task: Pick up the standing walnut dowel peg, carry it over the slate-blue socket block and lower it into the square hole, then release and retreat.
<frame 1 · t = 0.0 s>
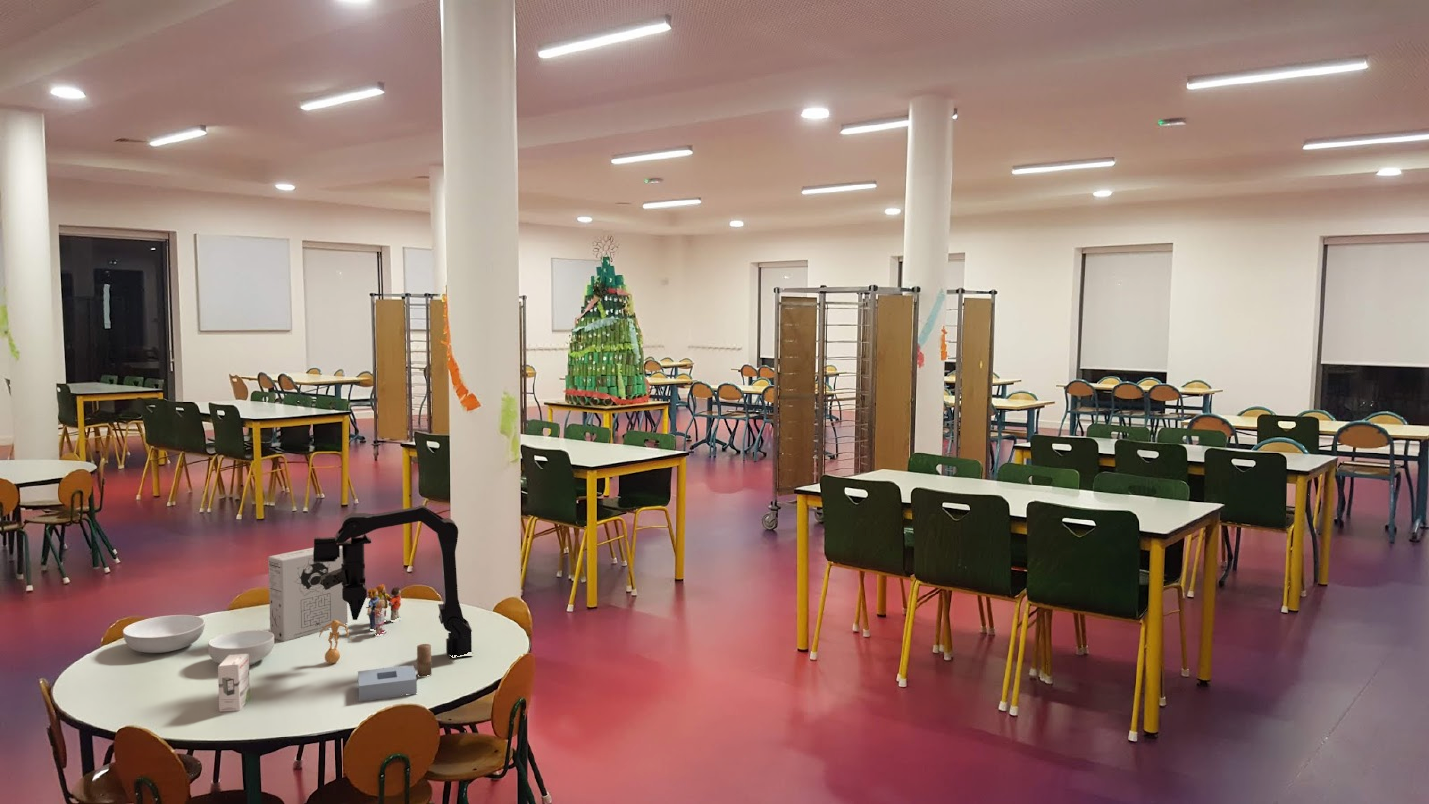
hand: (354, 615, 264), 15 cm above the table, fingers open, 9 cm apart
socket block: (387, 690, 249), on the table
cereal box: (309, 631, 296), on the table
peg: (424, 674, 260), on the table
ink box: (235, 705, 238), on the table
serving bowl: (165, 648, 279), on the table
figurine: (333, 662, 269), on the table
cereal bowl: (242, 663, 268), on the table
doll family: (378, 628, 300), on the table
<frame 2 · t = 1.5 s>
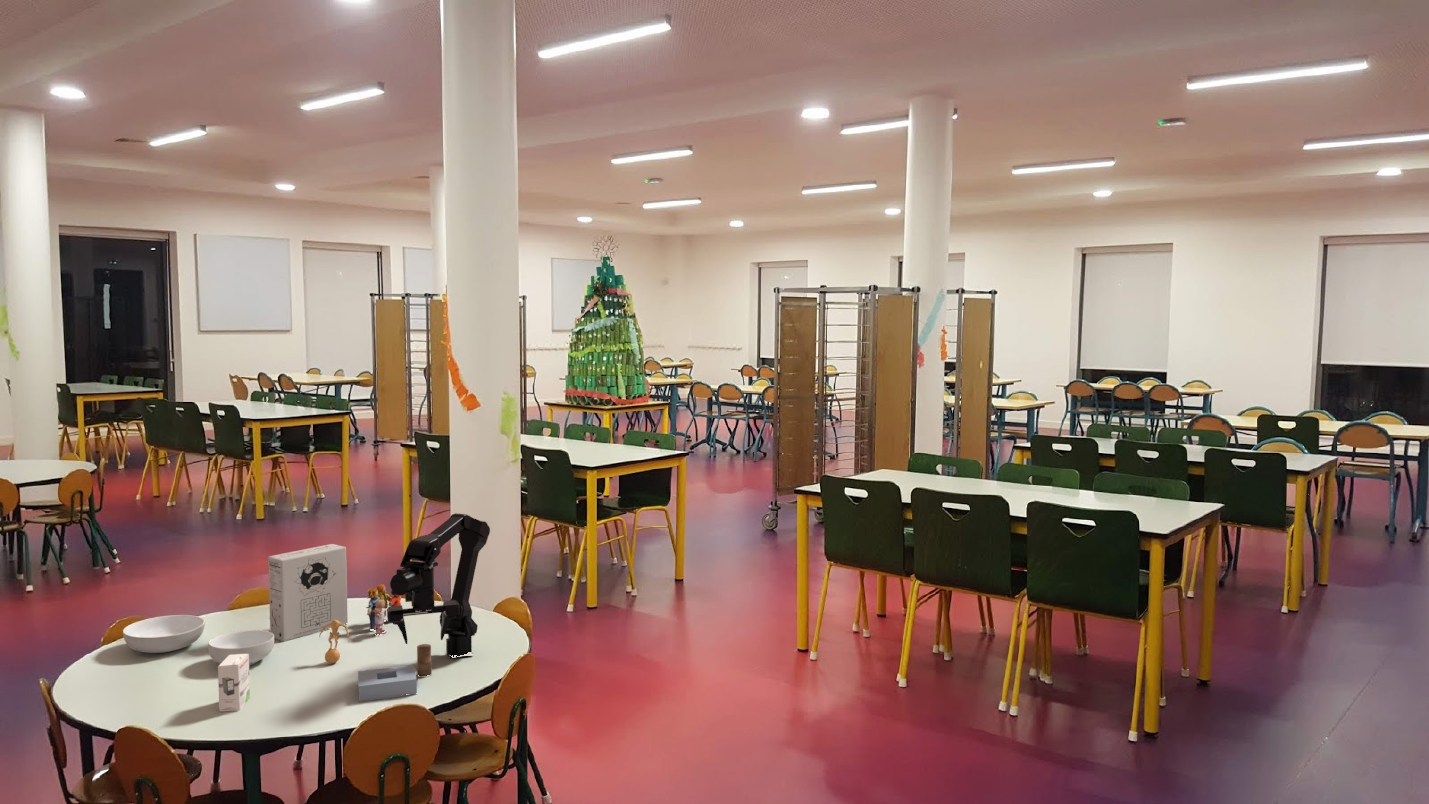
hand: (424, 641, 259), 9 cm above the table, fingers open, 9 cm apart
nothing on the table moved.
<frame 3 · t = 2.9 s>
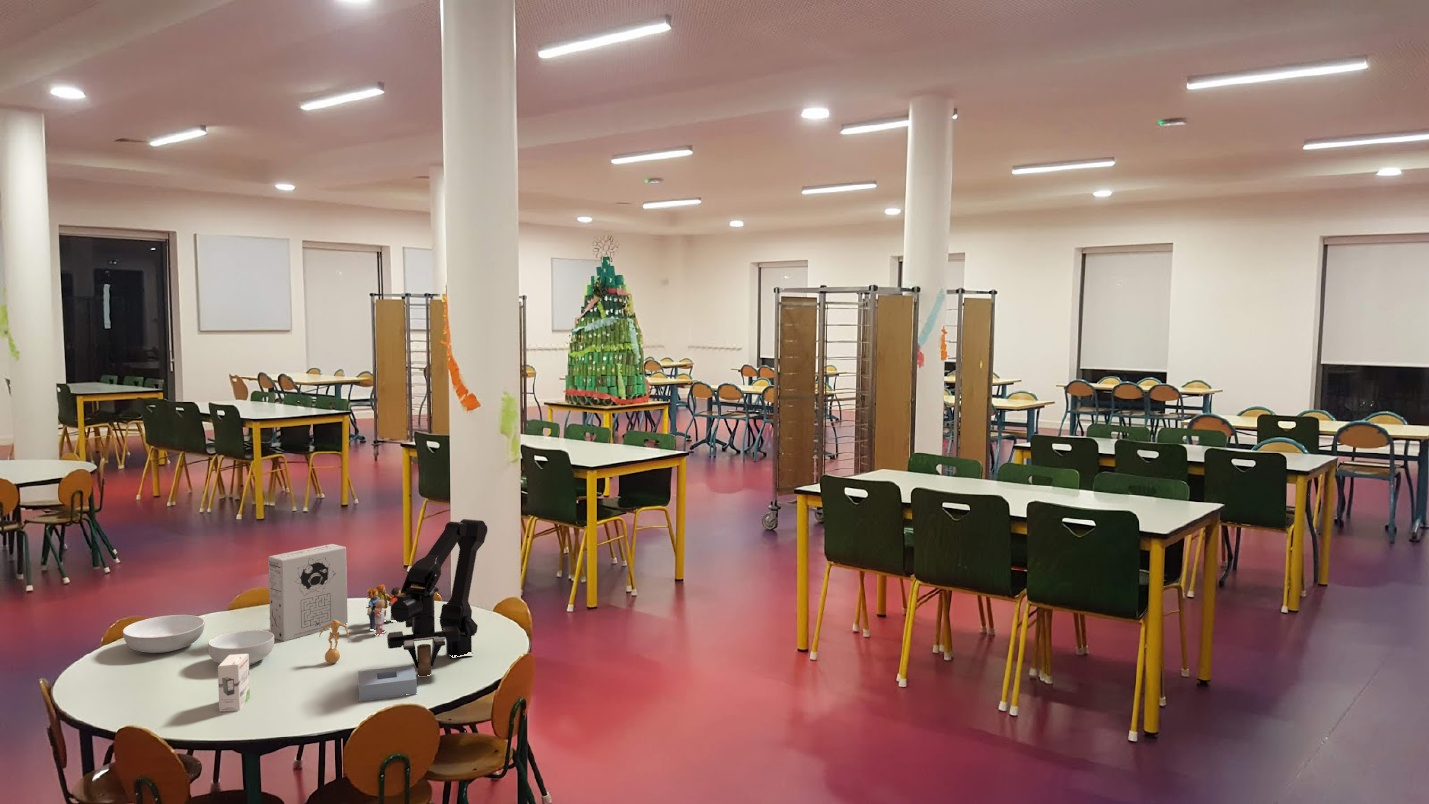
hand: (424, 667, 260), 2 cm above the table, fingers closed on peg, 4 cm apart
peg: (424, 674, 260), on the table, touching gripper
everything else where it was.
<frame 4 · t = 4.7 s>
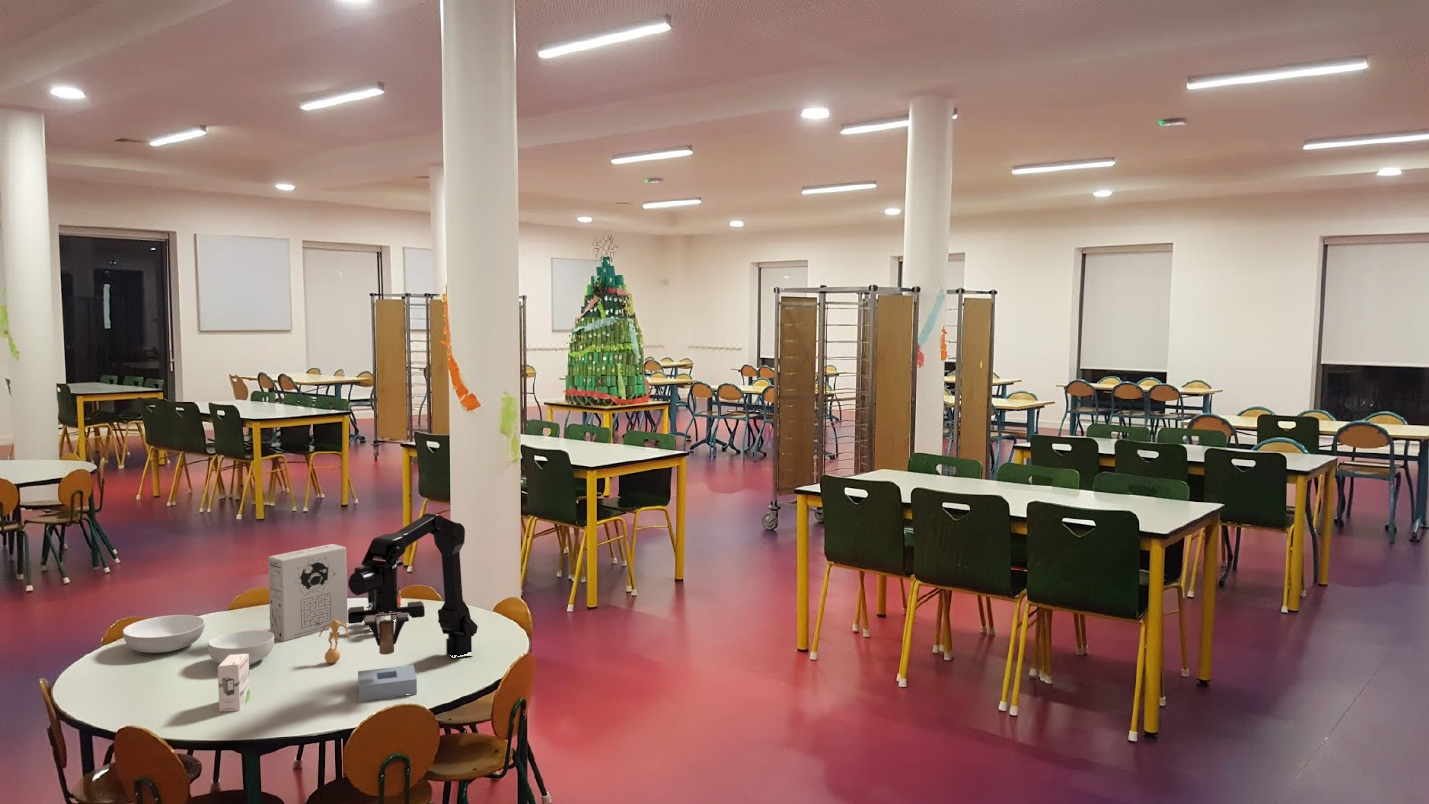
hand: (386, 644, 248), 12 cm above the table, fingers closed on peg, 4 cm apart
peg: (386, 652, 248), point 10 cm above the table, touching gripper
everything else where it was.
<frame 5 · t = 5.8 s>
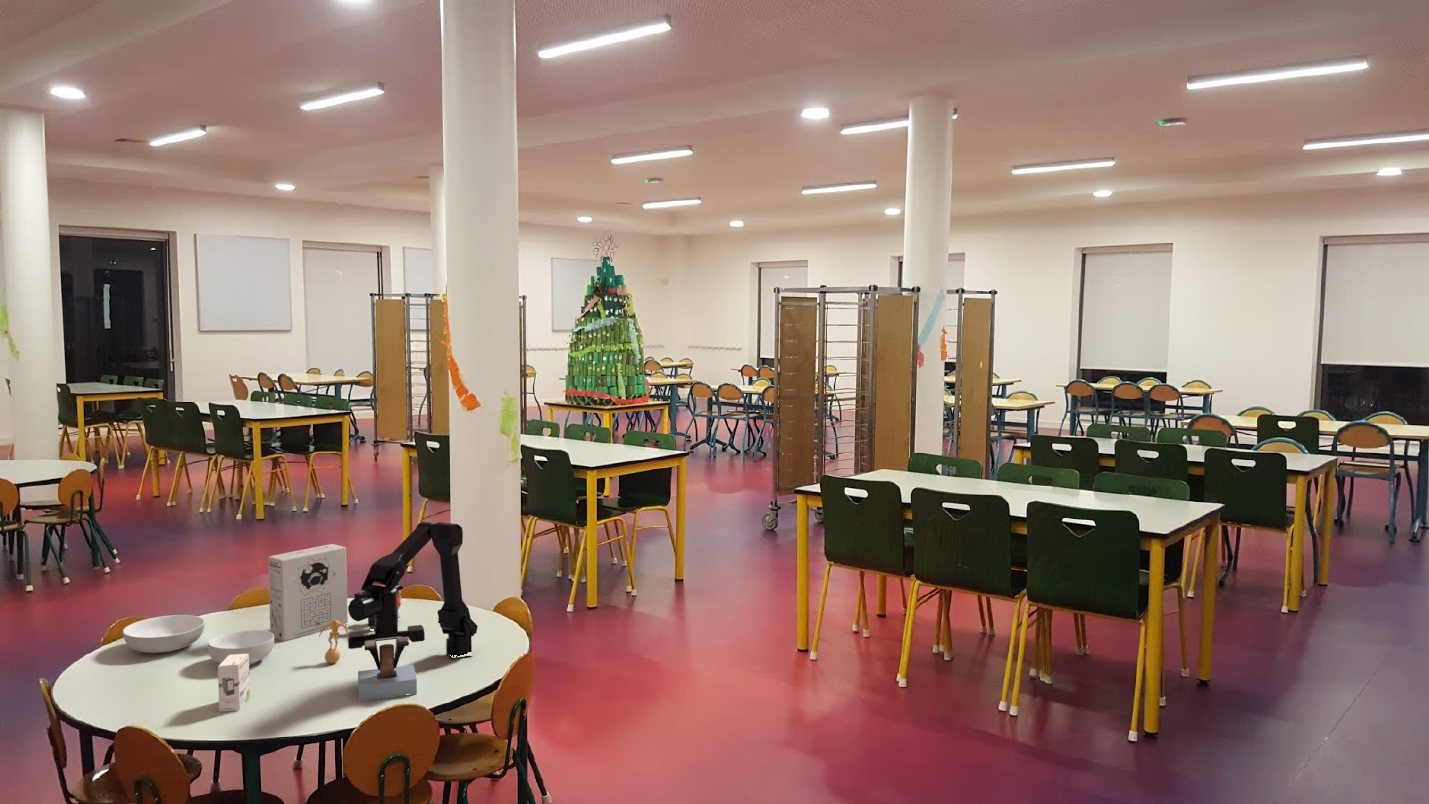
hand: (387, 668, 248), 6 cm above the table, fingers closed on peg, 4 cm apart
peg: (387, 676, 249), point 4 cm above the table, touching gripper
everything else where it was.
when the fingers open (4 cm above the table, at t = 6.4 s): peg drops 2 cm, resting in socket block.
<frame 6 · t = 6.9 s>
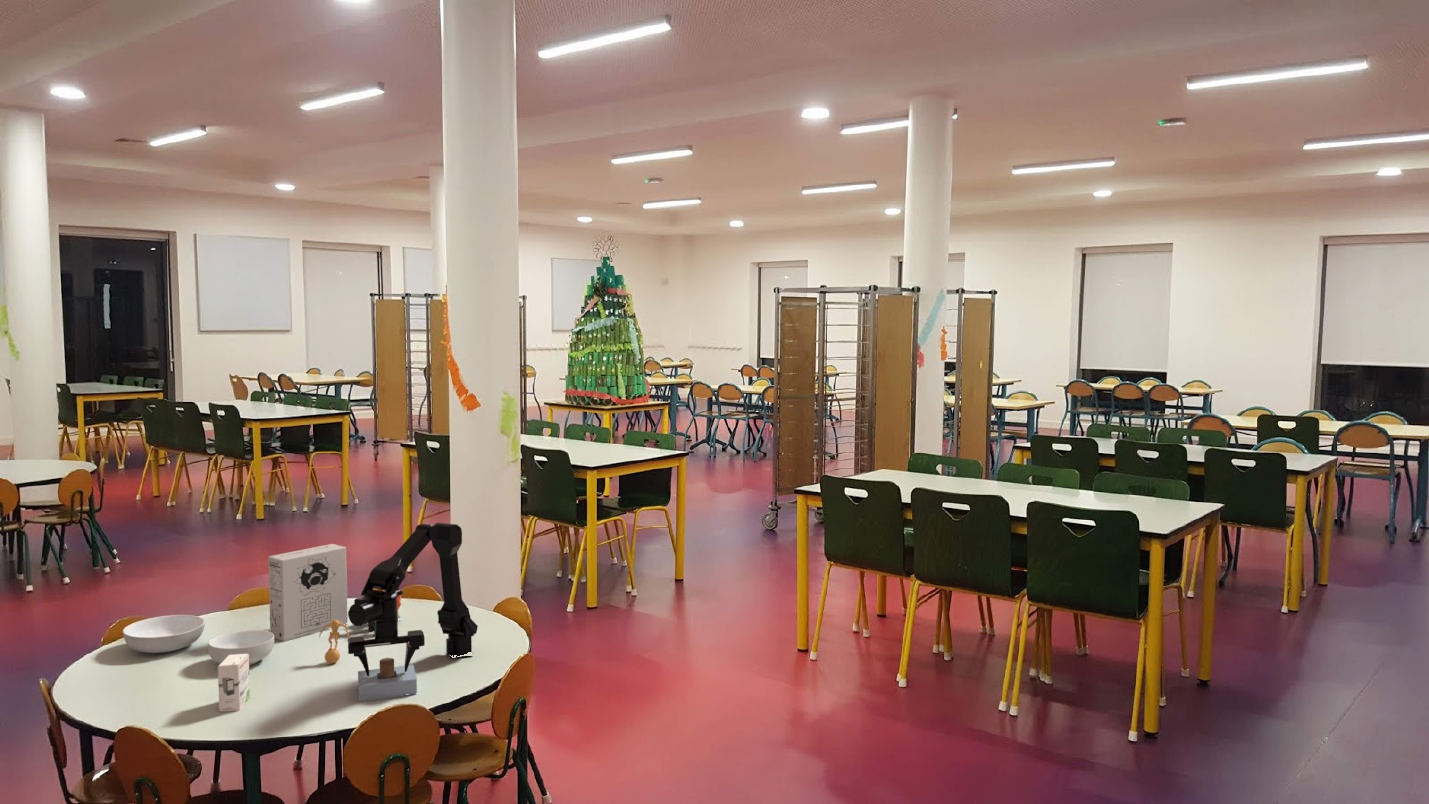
hand: (387, 673, 248), 4 cm above the table, fingers open, 9 cm apart
peg: (387, 690, 249), resting in socket block
everything else where it was.
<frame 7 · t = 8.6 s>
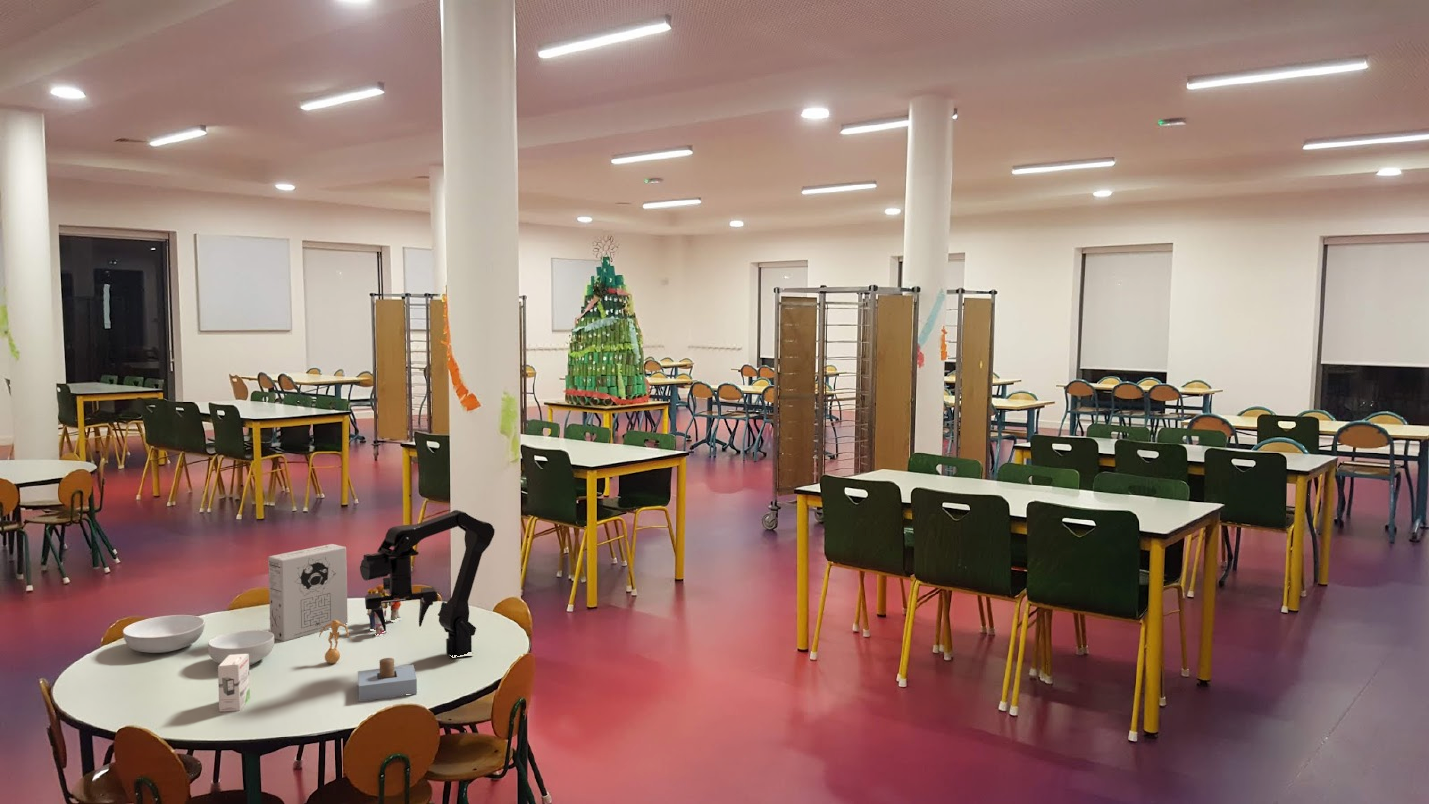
hand: (402, 628, 262), 12 cm above the table, fingers open, 9 cm apart
nothing on the table moved.
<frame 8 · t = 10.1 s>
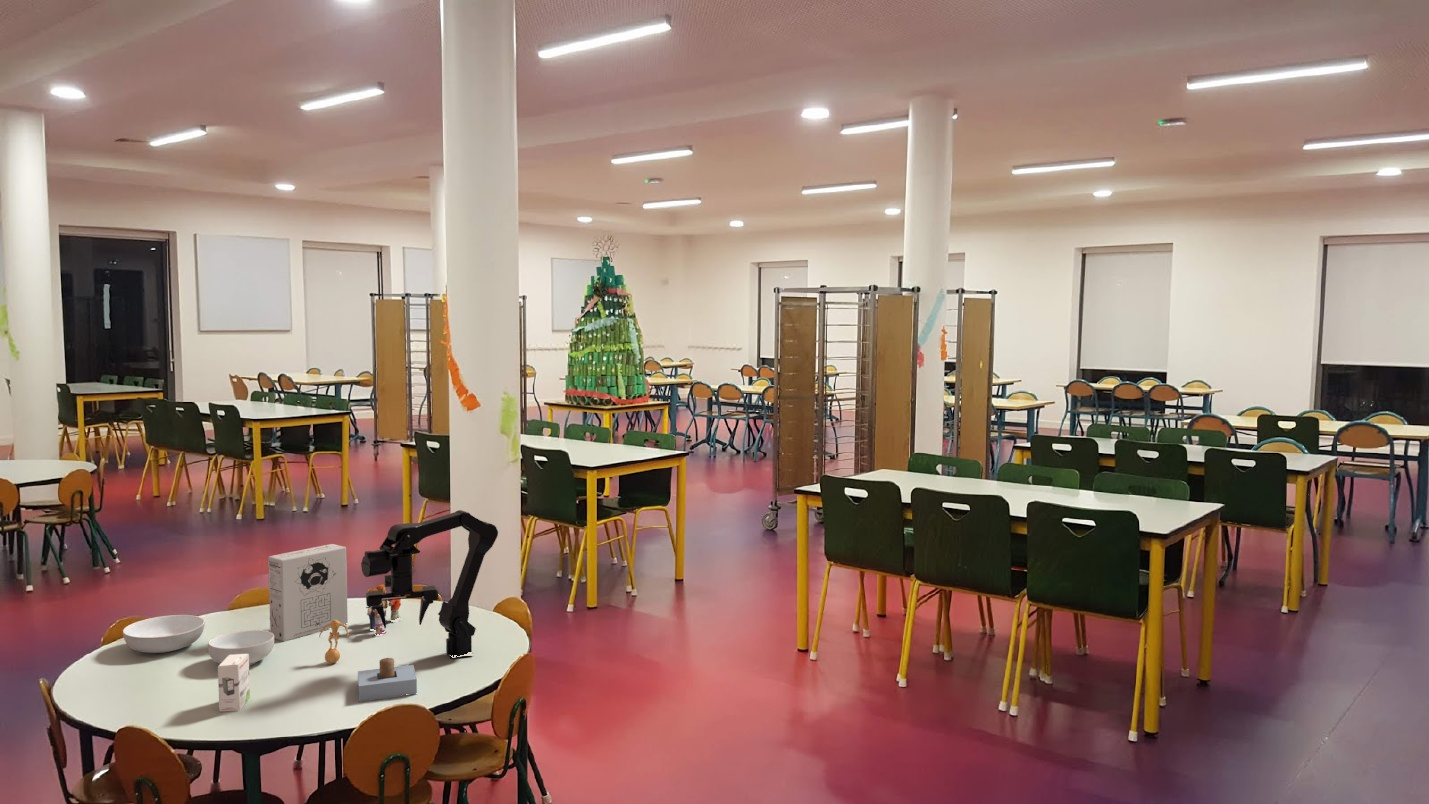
hand: (402, 626, 264), 12 cm above the table, fingers open, 9 cm apart
nothing on the table moved.
at the end: peg 0.0 cm off-centre on the socket block, point 0.0 cm above the socket block's base; peg tilted 0°; the gripper is holding nothing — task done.
